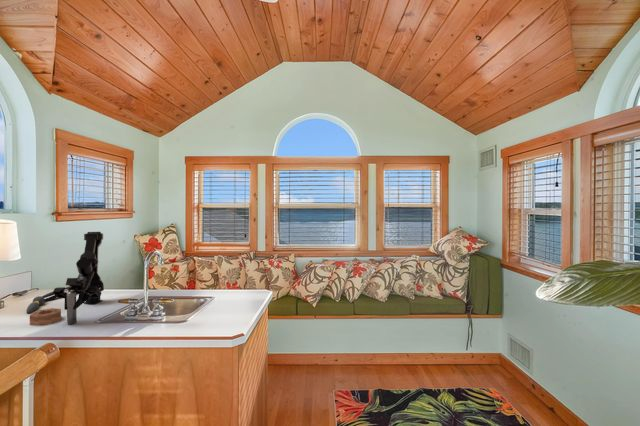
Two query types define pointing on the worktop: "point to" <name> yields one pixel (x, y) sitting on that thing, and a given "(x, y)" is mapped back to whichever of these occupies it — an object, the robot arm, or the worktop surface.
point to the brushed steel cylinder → (71, 307)
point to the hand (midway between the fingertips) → (69, 309)
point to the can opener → (52, 296)
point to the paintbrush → (35, 304)
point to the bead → (45, 316)
